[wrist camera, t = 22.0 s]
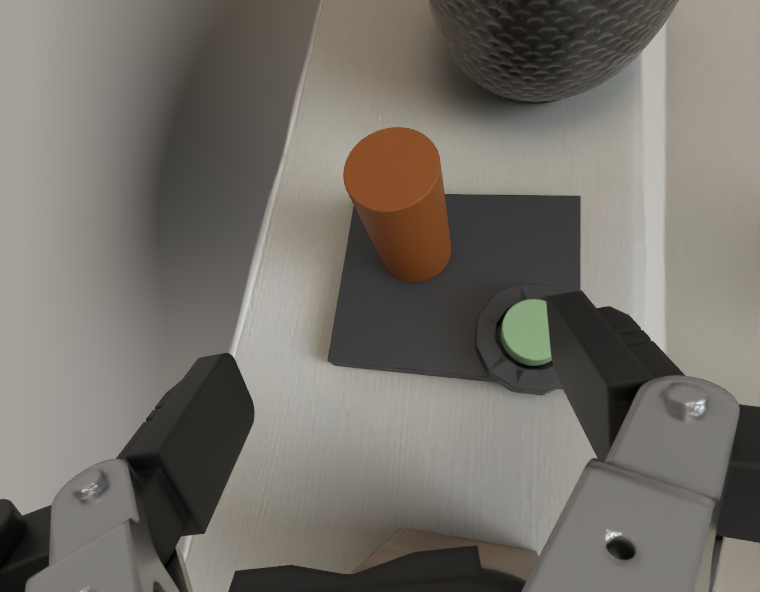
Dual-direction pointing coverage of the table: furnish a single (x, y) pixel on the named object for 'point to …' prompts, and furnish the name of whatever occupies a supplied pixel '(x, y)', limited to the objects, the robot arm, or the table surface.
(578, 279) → the scale
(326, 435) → the table surface
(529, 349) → the button
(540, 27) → the planter
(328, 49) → the table surface
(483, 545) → the oak stand
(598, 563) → the robot arm
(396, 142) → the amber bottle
